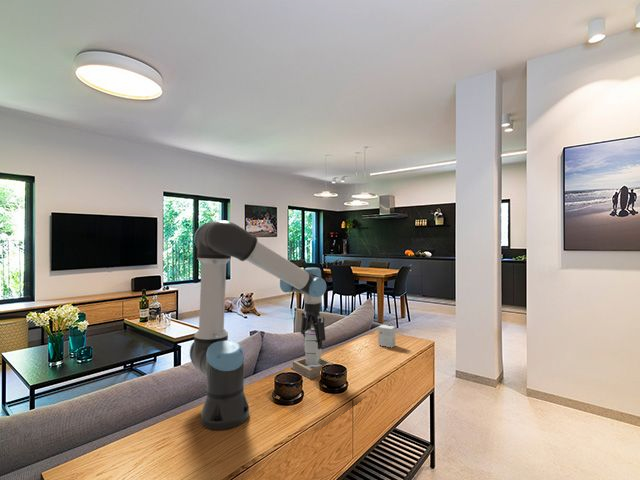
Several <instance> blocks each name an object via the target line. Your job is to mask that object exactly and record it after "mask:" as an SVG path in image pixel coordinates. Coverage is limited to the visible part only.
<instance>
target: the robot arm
mask: <svg viewBox="0 0 640 480" xmlns="http://www.w3.org/2000/svg"><path fill="white" fill-rule="evenodd" d="M193 238H194V239H193V242H194V244H195V247H196V249H197V256H196V257H197V258H196V259H197V260H198V261H199V262H200V263H201V265H200V266H201V268H200V269H201V271H200V290H199V291H200V293H199V294H200V297H199V298H200V299H199V322H198V331H196V332H195V333H194V336H193V342H192V343H191V345H190V348H189V358H190V359H189V360H190V361H191V363H192V365H193V366H194V367H195V368H196V369H197V370H199V371H200V372H201V373H202V374H203V375H204V376H205V377H206V397H205V400H204V404H203V405H202V406H203V407H202V410H201V413H200V422H201V423H200V424H201V425H202V426H203V427H205V428H206V429H209V430H212V431H224V430H229V429H233V428H236V427H238V426H240V425H242V424H243V423H245V422H246V421H247V420H248V419H249V416H250V406H249V403H248V400H247V397H246V395H245V391H244V387H245V385H244V384H245V383H244V382H245V381H244V379H245V378H244V376H245V375H244V373H245V369H244V368H245V365H244V364H245V354H244V348H243V346H242V345H241V344H240V343H239V342H236V341H233V340H232V341H231V340H229V332H227V330H226V329H225V308H226V307H225V306H226V304H225V303H226V281H227V280H226V279H227V278H226V277H227V264H228V262H229V261H230V260H231V259H232V258H235V259H237V260H239V261H240V262H246V261H248V262H249V263H250V264H252V265H253V266H256V267H257V268H260V269H261V270H263V271H265V272H267V273H269V274H270V275H272V276H273V277H276V278H278V279H279V287H280V290H281V291H282V292H283V293H286V294H287V293H298V294H302V295H303V301H304V305H303V306H304V307H303V309H304V312H302V313H301V328H300V333H301V335H302V336H303V344H304V346H303V347H304V350H303V351H304V352H305V332H306V331H307V330H308V329H312V327H313V329H314V330H315V334H316V339H317V341H316V357H318V356H321V357H322V352H323V351H322V349H323V342H325V341H326V340H327V338H326V331H325V330H326V328H325V317H321V316H320V312H321V311H322V303H321V302H322V296H323V295H324V294H325V293H326V291H327V283H326V281H325V279H324V278H322V271H321V269H320V267H306V268H304V269H302V268H301V267H299V266H298V265H296V264H295V263H293V262H292V261H290V260H288V259H287V258H285V257H284V256H282V255H281V254H278V253H277V252H276V251H274V250H272V249H270V248H269V247H267V246H266V245H264V244H262V243H261V242H259V239H258V237H256V236H255V235H254V234H252V233H250V232H249V231H247V229H245V228H243V227H241V226H240V225H238V224H236V223H234V222H232V221H229V220H219V221H216V220H215V221H208V222H205V223H203V224H202V225H200V226H199V227H198V228H197V230H195V233H194V237H193Z"/></svg>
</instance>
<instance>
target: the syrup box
mask: <svg viewBox="0 0 640 480" xmlns="http://www.w3.org/2000/svg"><path fill="white" fill-rule="evenodd" d="M316 341H317V339H316V334H315V330H314V328H311V329H308V330H307V331H306V332H305V351H304V352H305V358H306V364H309V365H318V364H319V362H320V360H321V358H322V355H321V356H318V357H316Z"/></svg>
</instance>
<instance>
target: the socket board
mask: <svg viewBox="0 0 640 480" xmlns="http://www.w3.org/2000/svg"><path fill="white" fill-rule="evenodd" d="M326 365H333V366H334V362H332V361H329V360H327V359H325V358H323V357H321V360H320V362H319V364H318V365H309V364H306V357H302V358H299V359H296V360H293V361H292V365H291V366H290V369H291V370H294V371H295V372H297V373H299V374H301V375H302V376H303V377H305V378H307V377H308V378H307V379H314V378H316V377H319V376H321V375H320V371H321V368H322V367H324V366H326Z"/></svg>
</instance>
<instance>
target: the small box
mask: <svg viewBox="0 0 640 480" xmlns="http://www.w3.org/2000/svg"><path fill="white" fill-rule="evenodd" d="M377 330H378V332H377V335H378V336H377V339H378V340H377V341H378V344H377V345H381V346H380V347H382V346H386V347H385V348H387V347H393V348H394V347H395V346H396V326H393V325H387V324H386V325H385V324H381V325H379V326H378V327H377Z"/></svg>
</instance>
